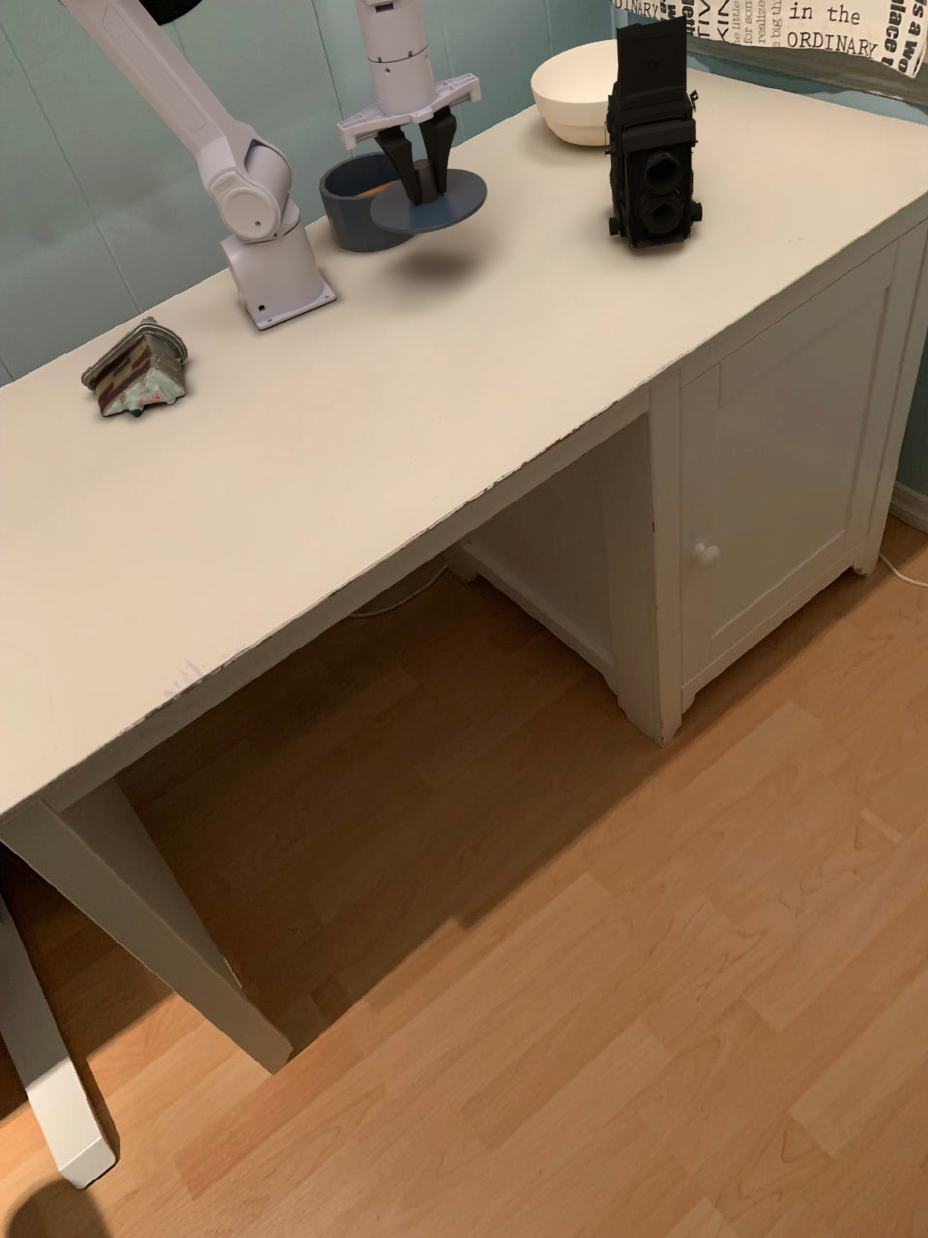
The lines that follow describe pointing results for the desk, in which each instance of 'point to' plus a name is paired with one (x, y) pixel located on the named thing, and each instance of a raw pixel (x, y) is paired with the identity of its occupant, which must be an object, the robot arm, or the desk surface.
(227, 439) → the desk surface
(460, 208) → the lid
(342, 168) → the pot
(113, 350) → the chocolate cake
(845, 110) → the desk surface
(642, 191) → the camera
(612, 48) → the bowl
